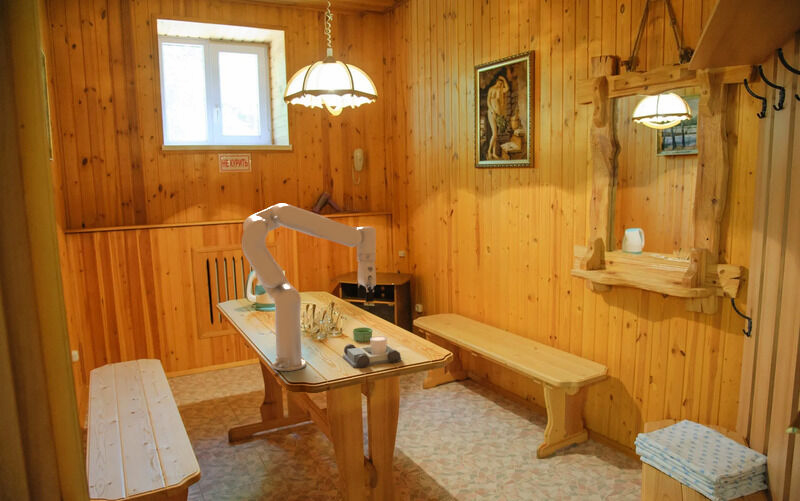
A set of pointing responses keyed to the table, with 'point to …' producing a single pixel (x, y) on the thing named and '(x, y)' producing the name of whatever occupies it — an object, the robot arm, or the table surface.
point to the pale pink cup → (378, 345)
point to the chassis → (369, 356)
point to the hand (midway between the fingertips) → (365, 299)
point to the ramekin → (362, 334)
